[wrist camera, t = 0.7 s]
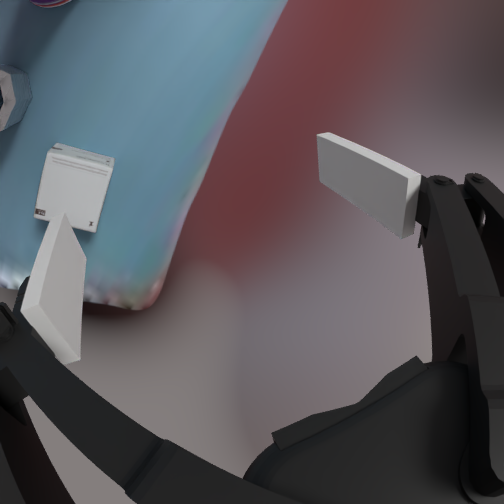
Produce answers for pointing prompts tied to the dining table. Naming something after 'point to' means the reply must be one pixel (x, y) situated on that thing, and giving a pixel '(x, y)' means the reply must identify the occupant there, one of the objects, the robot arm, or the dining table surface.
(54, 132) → the dining table surface
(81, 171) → the small box
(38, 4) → the pill bottle
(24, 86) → the tube
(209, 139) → the dining table surface
